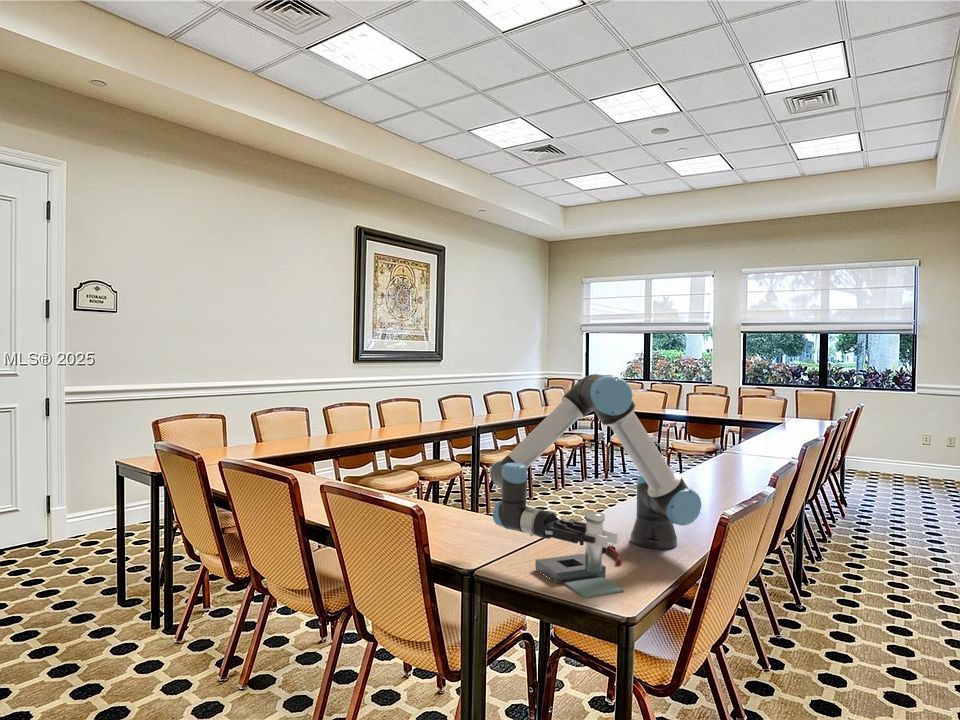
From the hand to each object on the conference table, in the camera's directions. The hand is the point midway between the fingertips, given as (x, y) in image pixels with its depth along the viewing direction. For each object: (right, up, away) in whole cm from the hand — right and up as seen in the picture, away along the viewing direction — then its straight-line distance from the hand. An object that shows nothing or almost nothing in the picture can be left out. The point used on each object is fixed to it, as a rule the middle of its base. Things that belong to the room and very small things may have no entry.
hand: (611, 540), depth 163 cm
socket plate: (-9, -14, +15) cm, 22 cm away
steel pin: (-4, -9, +4) cm, 10 cm away
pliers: (+6, -15, +32) cm, 35 cm away
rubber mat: (-4, -14, +4) cm, 15 cm away
